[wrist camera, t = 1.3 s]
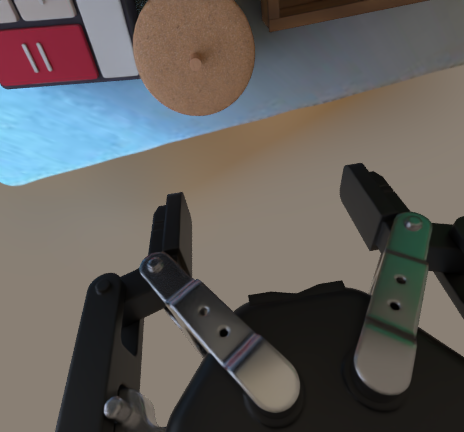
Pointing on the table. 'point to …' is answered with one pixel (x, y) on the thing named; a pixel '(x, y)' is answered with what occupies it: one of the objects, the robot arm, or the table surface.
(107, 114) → the table surface
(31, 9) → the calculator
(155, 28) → the trinket box
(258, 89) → the table surface
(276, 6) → the wooden square tray
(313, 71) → the table surface
